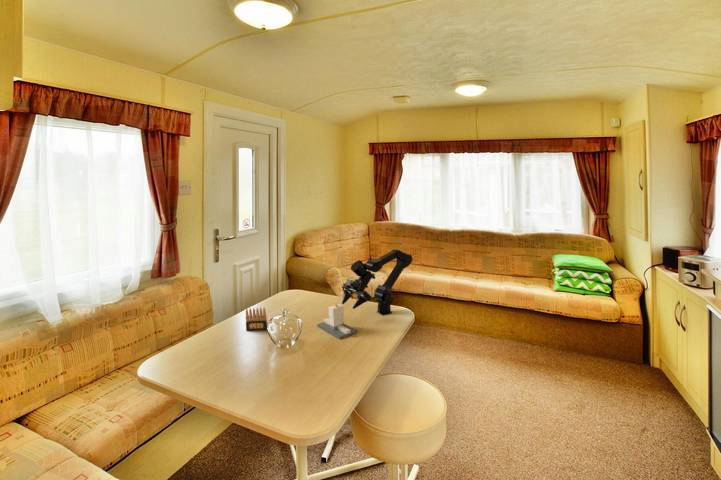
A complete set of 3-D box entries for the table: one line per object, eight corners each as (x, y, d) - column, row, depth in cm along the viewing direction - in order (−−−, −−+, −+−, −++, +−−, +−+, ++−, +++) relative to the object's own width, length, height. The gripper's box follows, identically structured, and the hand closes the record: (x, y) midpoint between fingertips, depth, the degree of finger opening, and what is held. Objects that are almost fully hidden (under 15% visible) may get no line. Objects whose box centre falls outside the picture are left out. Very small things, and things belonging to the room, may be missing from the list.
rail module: (339, 324, 177) (338, 301, 175) (344, 326, 174) (343, 303, 172) (329, 327, 173) (328, 304, 171) (334, 330, 170) (332, 306, 168)
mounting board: (317, 326, 178) (316, 321, 178) (334, 320, 185) (334, 315, 184) (339, 339, 163) (339, 333, 162) (357, 332, 170) (357, 327, 169)
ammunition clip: (268, 328, 178) (266, 306, 176) (267, 330, 176) (265, 307, 174) (247, 329, 177) (245, 307, 175) (246, 331, 175) (244, 308, 173)
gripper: (343, 269, 184) (327, 293, 179) (366, 276, 170) (349, 302, 165) (355, 280, 190) (340, 304, 185) (378, 288, 176) (362, 314, 171)
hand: (347, 306), depth 177 cm, fingers open, 9 cm apart
